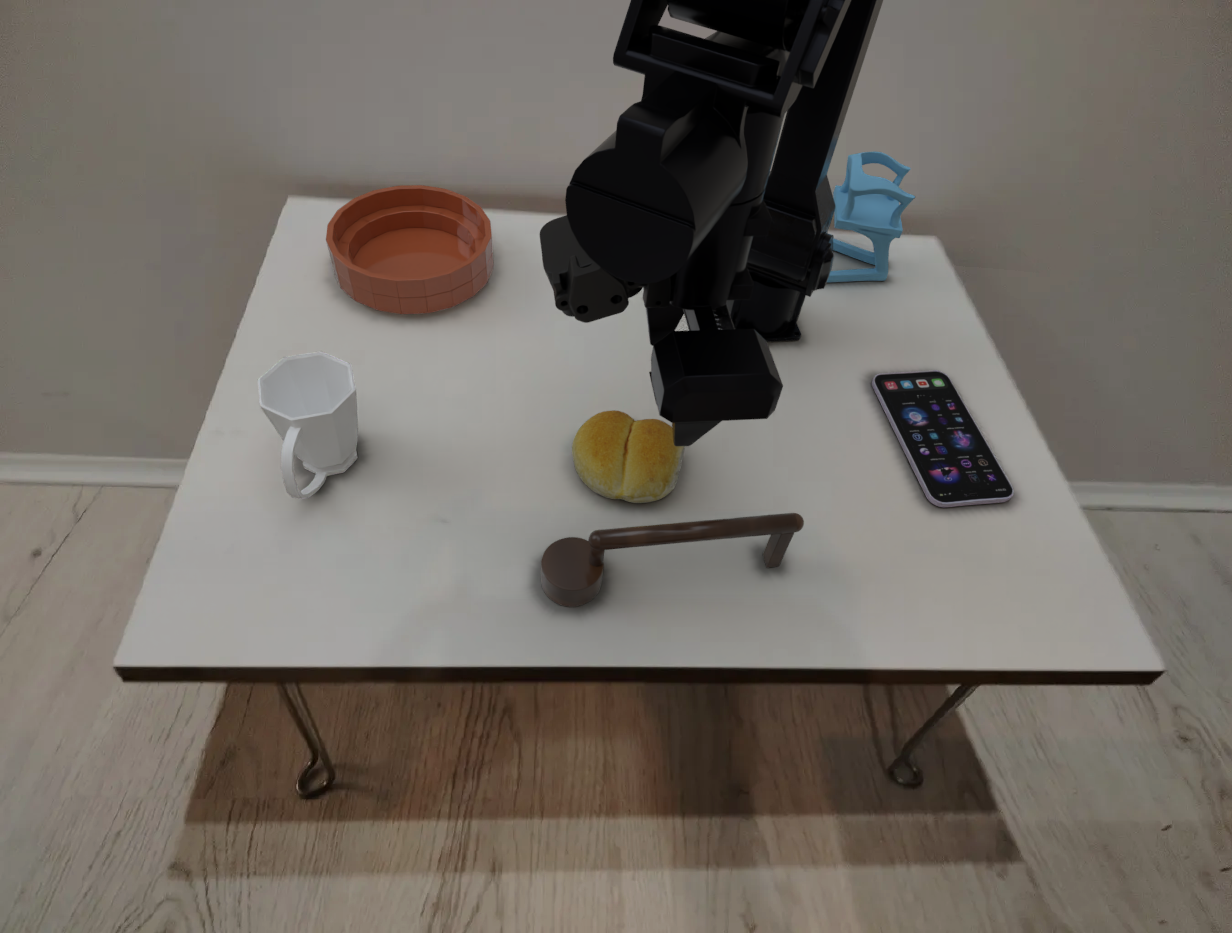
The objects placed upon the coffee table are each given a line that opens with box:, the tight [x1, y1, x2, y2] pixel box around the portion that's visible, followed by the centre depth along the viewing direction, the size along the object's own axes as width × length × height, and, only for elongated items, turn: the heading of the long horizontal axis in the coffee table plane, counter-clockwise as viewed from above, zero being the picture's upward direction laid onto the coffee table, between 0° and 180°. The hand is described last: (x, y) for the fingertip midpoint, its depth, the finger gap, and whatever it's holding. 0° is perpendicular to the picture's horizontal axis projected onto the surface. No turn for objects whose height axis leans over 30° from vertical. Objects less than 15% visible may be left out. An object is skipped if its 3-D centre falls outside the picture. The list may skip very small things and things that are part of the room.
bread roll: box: [571, 409, 686, 504], centre depth 62 cm, size 8×9×4 cm
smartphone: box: [871, 369, 1015, 508], centre depth 68 cm, size 8×1×15 cm
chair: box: [827, 150, 916, 283], centre depth 79 cm, size 8×8×12 cm
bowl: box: [325, 184, 494, 315], centre depth 76 cm, size 15×15×4 cm
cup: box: [257, 350, 359, 499], centre depth 58 cm, size 7×10×8 cm
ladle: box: [540, 512, 805, 608], centre depth 55 cm, size 19×4×6 cm, turn 99°
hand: (669, 391), depth 51 cm, fingers open, 9 cm apart
